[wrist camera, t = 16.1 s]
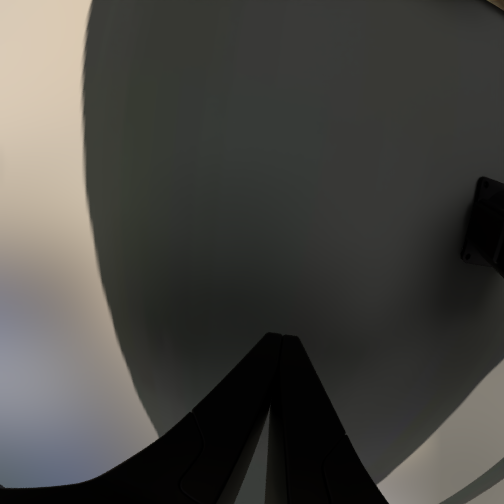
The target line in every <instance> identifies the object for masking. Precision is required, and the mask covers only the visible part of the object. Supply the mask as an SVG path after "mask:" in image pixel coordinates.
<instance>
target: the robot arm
mask: <svg viewBox="0 0 504 504" xmlns="http://www.w3.org/2000/svg"><path fill="white" fill-rule="evenodd" d="M485 181H486V185H485V187H484V182H485ZM467 254H468V256H467V257H466V255H467ZM461 259H462V260H463V261H464V262H465V263H470V264H477V265H483V266H489V267H493V268H494V269H495V270H496V271H497V272H498V273H499V274H500V275H501V276H502V277H503V278H504V184H503V183H500V182H498V181H495V180H492V179H490V178H487V177H481V178H480V180H479V183H478V188H477V194H476V198H475V203H474V206H473V211H472V215H471V219H470V223H469V227H468V230H467V234H466V239H465V242H464V245H463V249H462V252H461ZM271 399H272V400H271ZM270 404H271V406H270ZM269 408H270V416H269V436H268V455H267V473H266V489H265V503H264V504H389V503H388V502H387V500H386V499H385V497H384V496H383V495H382V493H381V492H380V490H379V489H378V487H377V486H376V485H375V483H374V482H373V480H372V479H371V477H370V475H369V474H368V472H367V471H366V469H365V468H364V466H363V464H362V463H361V461H360V459H359V457H358V455H357V453H356V452H355V450H354V448H353V446H352V444H351V442H350V440H349V438H348V436H347V435H345V433H346V432H345V430H344V428H343V426H342V424H341V422H340V420H339V418H338V416H337V413H336V411H335V409H334V407H333V405H332V403H331V401H330V399H329V397H328V395H327V393H326V391H325V389H324V387H323V385H322V383H321V381H320V379H319V377H318V375H317V373H316V371H315V369H314V367H313V365H312V363H311V361H310V359H309V357H308V355H307V353H306V351H305V349H304V347H303V345H302V343H301V341H300V339H299V337H298V336H292V335H283V337H282V335H281V334H278V333H271V332H268V333H266V334H265V335H264V336H263V337H262V339H261V340H260V341H259V342H258V343H257V344H256V345H255V346H254V347H253V348H252V349H251V350H250V352H249V353H248V354H247V355H246V356H245V357H244V358H243V359H242V360H241V361H240V362H239V363H238V364H237V365H236V366H235V367H234V368H233V369H232V370H231V371H230V372H229V373H228V375H227V376H226V377H225V378H224V379H223V380H222V381H221V382H220V383H219V384H218V385H217V386H216V387H215V388H214V389H213V390H212V391H211V392H210V393H209V394H208V395H207V396H206V397H205V398H204V399H203V400H202V401H201V402H199V403H198V404H197V405H196V406H195V407H194V408H193V409H192V412H189V413H188V414H187V415H186V416H185V417H184V418H183V419H182V420H180V421H179V422H178V423H177V424H176V425H175V426H174V427H172V428H171V429H170V430H169V431H168V432H167V433H165V434H164V435H163V436H162V437H160V438H159V439H157V440H156V441H155V442H153V443H152V444H150V445H149V446H148V447H146V448H145V449H143V450H142V451H140V452H138V453H137V454H135V455H134V456H132V457H131V458H129V459H127V460H126V461H124V462H122V463H121V464H119V465H118V466H116V467H114V468H112V469H111V470H109V471H107V472H106V473H104V474H102V475H100V476H98V477H96V478H94V479H91V480H88V481H85V482H81V483H76V484H70V485H61V486H52V487H38V488H5V487H3V486H2V485H0V504H234V502H235V500H236V497H237V495H238V493H239V490H240V488H241V485H242V483H243V480H244V478H245V475H246V473H247V470H248V468H249V465H250V462H251V460H252V457H253V454H254V452H255V449H256V446H257V444H258V441H259V438H260V435H261V432H262V430H263V427H264V424H265V421H266V418H267V415H268V412H269Z"/></svg>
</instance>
